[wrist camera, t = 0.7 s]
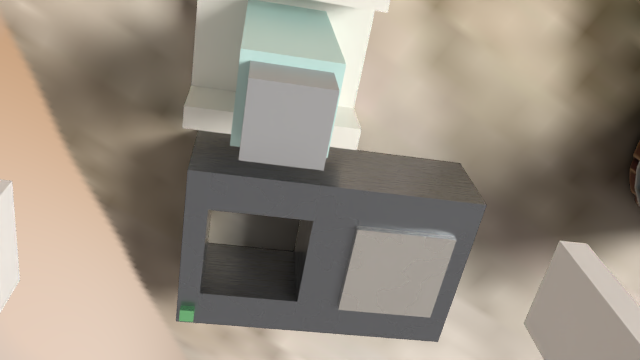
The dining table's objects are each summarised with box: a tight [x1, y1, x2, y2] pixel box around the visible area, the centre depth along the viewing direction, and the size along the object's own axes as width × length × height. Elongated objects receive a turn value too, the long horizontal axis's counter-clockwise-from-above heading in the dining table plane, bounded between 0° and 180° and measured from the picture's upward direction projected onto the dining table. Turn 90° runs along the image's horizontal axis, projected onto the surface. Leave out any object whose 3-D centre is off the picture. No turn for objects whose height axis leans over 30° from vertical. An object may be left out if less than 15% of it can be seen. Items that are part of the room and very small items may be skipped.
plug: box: [230, 0, 346, 171], centre depth 26 cm, size 4×4×11 cm
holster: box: [182, 0, 390, 150], centre depth 30 cm, size 9×9×4 cm
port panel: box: [176, 130, 486, 342], centre depth 35 cm, size 10×16×5 cm, turn 80°
